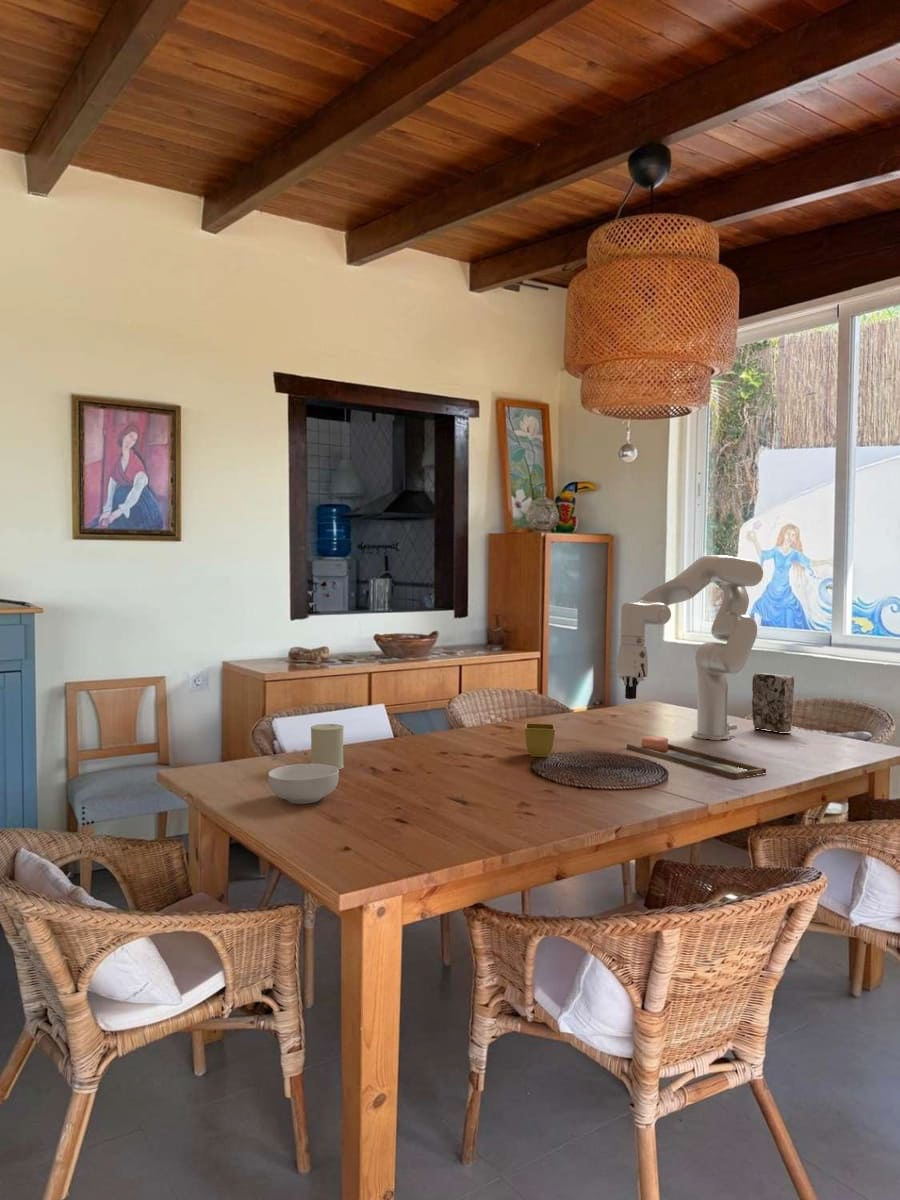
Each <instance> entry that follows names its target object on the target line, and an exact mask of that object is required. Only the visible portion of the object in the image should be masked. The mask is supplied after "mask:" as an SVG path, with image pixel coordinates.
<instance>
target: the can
mask: <svg viewBox="0 0 900 1200" xmlns="http://www.w3.org/2000/svg"><path fill="white" fill-rule="evenodd" d="M344 729H345V727H344V725H343V724H337V723H321V724H314V725H311V726H310V753H311V754H310V755H311V756H310V764H325V765H331V766H334V767H336V768H338V770H339V771H340V769H341V770H342V768H343V769H344Z"/></svg>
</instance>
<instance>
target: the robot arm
mask: <svg viewBox="0 0 900 1200" xmlns="http://www.w3.org/2000/svg"><path fill="white" fill-rule="evenodd" d="M763 577H764V569H763V567H762V565H761V564H760V563H758V561H755V560H753V559H745V558H740V557H735V556H729V555H724V554H708V555H703V556H700V557H699V558H698V559H696V560H695V561H694V562H692V563H691V564H690V565H689V566H688V567H687V568H686V569H683V571H682V572H680V574H678V575H677V576H675V577H674V578H673V579H671V580H667V581H666V582H664V583H662V584H661V585H658V586H656V587H654V588H653V589H651V590H649V591H648V592H647V593H645V594H644V595H643V596H641V597H640V598H639V599H638V600H637V601H636V602H630V601H628V602H627V601H626V602H623V603H622V604H621V609H620V611H621V612H620V640H619V641H620V644H619V647H618V651H617V652H618V654H617V665H616V668H617V669H616V670H617V673H618V678H620V680H622V681H623V685H624V686H625V690H624V692H625V695H624V696H625V697H624V698H625V699H627V700H636V699H637V687H639V683H643V682H644V681H645V678H647V677H648V674H649V672H648V671H649V664H648V652H647V646H645V642H646V640H645V639H646V637H645V636H646V634H645V633H646V625H649V626H655V627H656V626H660V627H661V626H664V625H665V624H667V623H668V622H669V621H670V619H671V617H672V611H671V609H670V607H669V606H671V605H675V604H678V603H683V602H686V601H689V600H691V599H693V598H694V597H695V596H697V594H699V593H700V592H702V590H703V589H704V588H705V587H707V586H708V585H710V583H712V582H719V583H720V585H721V589H722V593H723V596H722V601H721V603H720V605H719V609H718V610H717V613H716V615H715V617H714V621H713V623H712V625H711V634H712V637H713V638H715V639H716V640H717V641H721V642H713V641H712V642H711V641H709V642H705V643H702V644H701V645H699V646H698V648H697V650H696V652H695V657H694V658H695V664H696V665H695V666H696V671H697V722H696V724H697V725H696V729H697V730H693V731H692V733H691V734H692V737H693V736H694V738H695V739H700V740H706V739H710V740H709V741H722V740H721V739H728V738H731V737H732V734H731V733H730V731H735V730H737V728H738V726H737V724H736V723H732V724H730V723H728V693H729V692H728V691H729V690H728V689H729V686H728V685H729V684H728V679H727V676H726V674H727V675H734V674H737V673H739V672H741V671H742V670H743V668H744V667H745V665H746V663H747V661H748V658H749V656H750V654H751V652H752V649H753V647H754V644H755V642H756V639H757V636H758V625H757V622H756V620H755V619H754V618H753V617H752V616H750V615H747V614H746V613H747V611H748V608H749V604H750V598H749V593H748V591H747V589H746V588H747V587H755V586H757V585H758V584H760V582H761V581H762V579H763ZM722 642H723V643H722ZM724 642H725V643H724ZM731 739H732V738H731ZM728 740H729V739H728Z"/></svg>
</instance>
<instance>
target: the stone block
mask: <svg viewBox="0 0 900 1200" xmlns="http://www.w3.org/2000/svg"><path fill="white" fill-rule="evenodd" d="M751 684H752V685H751V686H752V687H751V689H752V698H751V699H752V700H751V705H752V706H751V707H752V711H751V712H752V723H753V726H754V727H753V728H754V729H755V728H759V729H767V730H771V731H777V732H789V731H792V721H793V707H794V689H795V678H794V676H792V675H788V674H779V673H778V674H775V673H768V672H759V673H758V672H756V673H754V675H753V677H752V683H751Z"/></svg>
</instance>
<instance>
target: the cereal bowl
mask: <svg viewBox="0 0 900 1200" xmlns="http://www.w3.org/2000/svg"><path fill="white" fill-rule="evenodd" d="M267 774H268V775H267V781H268V784H269V785H268V786H269V788H270V790H271V792H272V793H273V794H274V795H275V796H277V797H278V798H281V799H283V800H287V801H288V803H291V804H299V805H300V804H302V805H304V804H312V803H316V802H319V801H320V800H321V799H322V798H323V797H326V796H328V795H329V794H331V793H333V791H335V789H336V787H337V786H338V784H339V779H340V777H339V775H340V770H338V768H336V767H334V766H331V765H325V764H311V763H297V764H289V765H284V766H283V765H282V766H280V767H276V768H272V769H271V770H270V771H268V773H267Z"/></svg>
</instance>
